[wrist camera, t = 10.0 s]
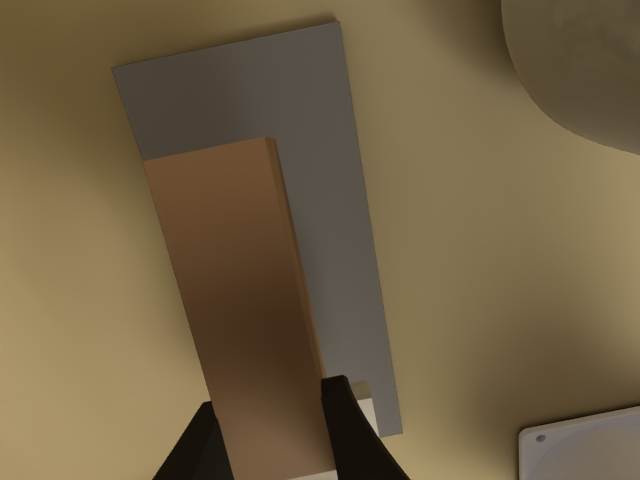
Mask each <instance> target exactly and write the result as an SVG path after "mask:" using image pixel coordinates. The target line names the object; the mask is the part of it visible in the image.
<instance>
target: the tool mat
mask: <svg viewBox="0 0 640 480" xmlns="http://www.w3.org/2000/svg"><path fill="white" fill-rule="evenodd" d="M111 69H112V72H113V75H114V78H115V81H116V84H117V87H118V90H119V93H120V95H121V98H122V101H123V104H124V107H125V110H126V113H127V116H128V119H129V121H130V124H131V127H132V130H133V133H134V136H135V139H136V142H137V145H138V147H139V150H140V153H141V156H142V159H143V161H147V160H152V159H157V158H162V157H166V156H171V155H176V154H181V153H186V152H191V151H196V150H201V149H206V148H211V147H216V146H221V145H225V144H230V143H235V142H240V141H245V140H250V139H255V138H260V137H270V138H275V140H276V144H277V149H278V154H279V158H280V163H281V167H282V172H283V177H284V181H285V186H286V191H287V195H288V200H289V205H290V209H291V214H292V218H293V223H294V228H295V232H296V237H297V242H298V246H299V251H300V256H301V260H302V265H303V269H304V274H305V279H306V283H307V288H308V293H309V297H310V302H311V307H312V311H313V316H314V320H315V325H316V330H317V334H318V339H319V344H320V348H321V353H322V358H323V362H324V367H325V371H326V376H327V378H328V377H333V376H338V375H344V376H346V377H348V381H349V383H354V382H359V381H364V380H367V382H368V386H369V390H370V393H371V397H372V402H373V407H374V412H375V417H376V423H377V428H378V433H379V438H382V437H387V436H392V435H397V434H402V433H403V431H402V424H401V418H400V411H399V405H398V398H397V392H396V385H395V379H394V372H393V366H392V359H391V353H390V346H389V340H388V333H387V327H386V320H385V314H384V307H383V301H382V294H381V288H380V281H379V275H378V268H377V262H376V255H375V249H374V242H373V236H372V229H371V223H370V216H369V210H368V203H367V197H366V190H365V184H364V177H363V171H362V164H361V158H360V151H359V145H358V138H357V132H356V125H355V119H354V112H353V106H352V99H351V93H350V86H349V80H348V73H347V67H346V60H345V54H344V47H343V41H342V34H341V28H340V21H337V22H332V23H327V24H322V25H317V26H312V27H308V28H303V29H298V30H293V31H288V32H283V33H278V34H273V35H269V36H264V37H259V38H254V39H249V40H244V41H239V42H234V43H230V44H225V45H220V46H215V47H210V48H205V49H200V50H195V51H191V52H186V53H181V54H176V55H171V56H166V57H161V58H156V59H151V60H147V61H142V62H137V63H132V64H127V65H122V66H117V67H112V68H111Z"/></svg>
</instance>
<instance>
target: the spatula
mask: <svg viewBox="0 0 640 480" xmlns="http://www.w3.org/2000/svg"><path fill="white" fill-rule="evenodd" d="M142 162H143V165H144V169H145V172H146V176H147V179H148V182H149V186H150V189H151V193H152V196H153V200H154V203H155V207H156V210H157V214H158V217H159V221H160V224H161V228H162V231H163V235H164V238H165V242H166V245H167V249H168V252H169V256H170V259H171V263H172V266H173V270H174V273H175V276H176V280H177V283H178V287H179V290H180V294H181V297H182V301H183V304H184V308H185V311H186V315H187V318H188V322H189V325H190V329H191V332H192V336H193V339H194V343H195V346H196V350H197V353H198V357H199V360H200V364H201V367H202V370H203V374H204V377H205V381H206V384H207V388H208V391H209V395H210V398H211V402H212V405H213V409H214V412H215V416H216V418H218V422H219V425H220V429H221V432H222V436H223V439H224V443H225V447H226V451H227V454H228V458H229V462H230V465H231V469H232V473H233V476H234V480H338V477H337V471H336V465H335V460H334V456H333V451H332V447H331V442H330V438H329V433H328V429H327V425H326V420H325V416H324V411H323V407H322V402H321V397H322V392H321V379H323V378H327V376H326V371H325V367H324V362H323V358H322V353H321V348H320V344H319V339H318V334H317V330H316V325H315V320H314V316H313V311H312V307H311V302H310V297H309V293H308V288H307V283H306V279H305V274H304V269H303V265H302V260H301V256H300V251H299V246H298V242H297V237H296V232H295V228H294V223H293V218H292V214H291V209H290V205H289V200H288V195H287V191H286V186H285V181H284V177H283V172H282V167H281V163H280V158H279V154H278V149H277V144H276V140H275V138H270V137H260V138H255V139H250V140H245V141H240V142H235V143H230V144H225V145H221V146H216V147H211V148H206V149H201V150H196V151H191V152H186V153H181V154H176V155H171V156H166V157H162V158H157V159H152V160H147V161H142ZM349 384H350V387H351V389H352V392H353V394H354V396H355V398H356V400H357V402H358V404H359V406H360V408H361V410H362V411H363V413H364V415H365V417H366V418H367V420H368V422H369V423H370V425H371V426H372V428H373V429H374V431H375V432H376V434H377V436H378V437H379V433H378V428H377V423H376V417H375V412H374V407H373V402H372V397H371V393H370V390H369V386H368V382H367V380H364V381H359V382H354V383H349ZM379 439H380V438H379Z"/></svg>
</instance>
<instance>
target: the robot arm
mask: <svg viewBox="0 0 640 480" xmlns="http://www.w3.org/2000/svg"><path fill="white" fill-rule="evenodd" d="M321 392H322V397H321V402H322V407H323V411H324V416H325V420H326V425H327V429H328V433H329V438H330V442H331V447H332V451H333V456H334V460H335V465H336V471H337V477H338V480H410V478H409V477H408V476H407V475H406V473H405V472H404V471H403V470H402V468H401V467H400V466H399V465H398V463H397V462H396V461H395V459H394V458H393V457H392V455H391V454H390V453H389V451H388V450H387V449H386V447H385V446H384V444H383V443H382V441H381V440H380V439H379V437H378V436H377V434H376V432H375V431H374V429H373V428H372V426H371V425H370V423H369V422H368V420H367V418H366V417H365V415H364V413H363V411H362V410H361V408H360V406H359V404H358V402H357V400H356V398H355V396H354V394H353V392H352V389H351V387H350V384H349V381H348V377H346V376H344V375H338V376H333V377H328V378H323V379H321ZM152 480H234V476H233V473H232V469H231V465H230V462H229V458H228V454H227V451H226V447H225V443H224V439H223V436H222V432H221V429H220V425H219V422H218V418H216V416H215V412H214V409H213V405H212V402H211V401H208V402H203V404H202V405H201V406H200V408H199V409H198V411H197V412H196V414H195V415H194V417H193V419H192V420H191V422H190V423H189V425H188V426H187V428H186V430H185V431H184V433H183V434H182V436H181V437H180V439H179V440H178V442H177V443H176V445H175V447H174V448H173V450H172V451H171V453H170V454H169V456H168V457H167V459H166V460H165V461H164V463H163V464H162V466H161V467H160V469H159V470H158V472H157V473H156V475H155V476H154V478H153V479H152ZM519 480H640V406H637V407H632V408H627V409H622V410H617V411H612V412H607V413H602V414H596V415H591V416H586V417H581V418H576V419H571V420H566V421H561V422H556V423H551V424H546V425H541V426H536V427H531V428H526V429H524V430H522V431H521V433H520V434H519Z"/></svg>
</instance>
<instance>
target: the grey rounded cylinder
mask: <svg viewBox="0 0 640 480" xmlns="http://www.w3.org/2000/svg"><path fill="white" fill-rule="evenodd" d="M501 12H502V23H503V29H504V35H505V40H506V44H507V48H508V51H509V55H510V57H511V60H512V63H513V65H514V67H515V70H516V72H517V74H518V76H519V78H520V80H521V82H522V84H523V86H524V87H525V89H526V91H527V92H528V94H529V95H530V97H531V98H532V99H533V101H534V102H535V103H536V104H537V105H538V106H539V108H540V109H541V110H542V111H543V112H544V113H545V114H546V115H548V116H549V117H550V118H551V119H552V120H553V121H555V122H556V123H558V124H559V125H561V126H562V127H564V128H565V129H567V130H569V131H571V132H573V133H575V134H577V135H579V136H582V137H584V138H586V139H589V140H591V141H594V142H597V143H599V144H602V145H605V146H609V147H612V148H616V149H619V150H623V151H627V152H630V153H634V154H638V155H640V0H501Z"/></svg>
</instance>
